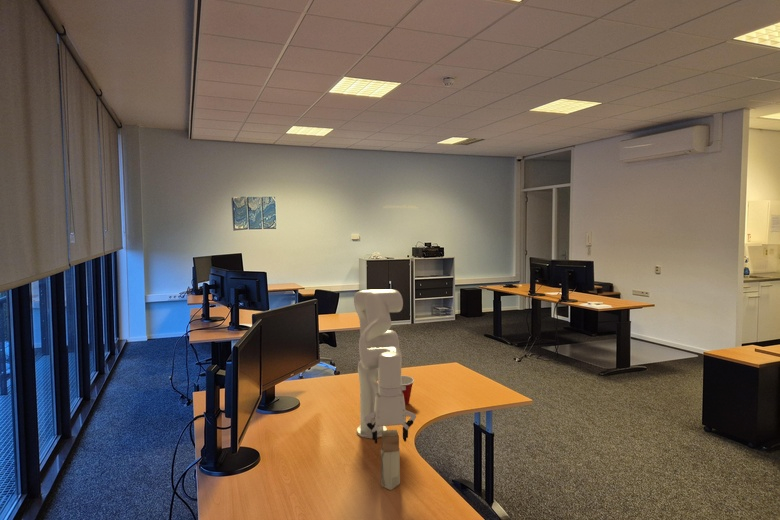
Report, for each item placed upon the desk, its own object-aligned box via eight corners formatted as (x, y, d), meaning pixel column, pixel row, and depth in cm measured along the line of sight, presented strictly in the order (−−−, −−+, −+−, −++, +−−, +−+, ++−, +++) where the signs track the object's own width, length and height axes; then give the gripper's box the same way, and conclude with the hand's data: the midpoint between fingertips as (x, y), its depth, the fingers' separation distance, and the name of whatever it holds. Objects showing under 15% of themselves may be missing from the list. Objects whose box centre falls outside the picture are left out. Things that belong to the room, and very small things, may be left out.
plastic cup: (389, 406, 224) (389, 382, 224) (394, 398, 235) (394, 374, 234) (411, 408, 222) (411, 383, 221) (416, 400, 232) (415, 376, 231)
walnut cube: (381, 445, 158) (381, 430, 158) (396, 444, 159) (396, 429, 159) (383, 452, 153) (383, 437, 153) (399, 451, 154) (399, 436, 154)
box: (390, 479, 161) (390, 443, 160) (400, 484, 158) (400, 447, 157) (380, 486, 156) (379, 449, 155) (390, 491, 154) (390, 453, 153)
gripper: (413, 385, 159) (413, 434, 161) (362, 387, 157) (363, 437, 158) (418, 392, 152) (418, 444, 153) (364, 395, 150) (365, 448, 151)
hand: (390, 440), depth 156 cm, fingers open, 9 cm apart
